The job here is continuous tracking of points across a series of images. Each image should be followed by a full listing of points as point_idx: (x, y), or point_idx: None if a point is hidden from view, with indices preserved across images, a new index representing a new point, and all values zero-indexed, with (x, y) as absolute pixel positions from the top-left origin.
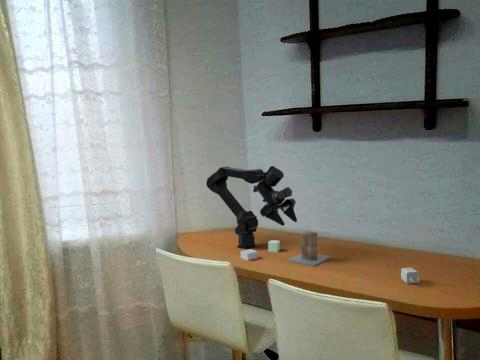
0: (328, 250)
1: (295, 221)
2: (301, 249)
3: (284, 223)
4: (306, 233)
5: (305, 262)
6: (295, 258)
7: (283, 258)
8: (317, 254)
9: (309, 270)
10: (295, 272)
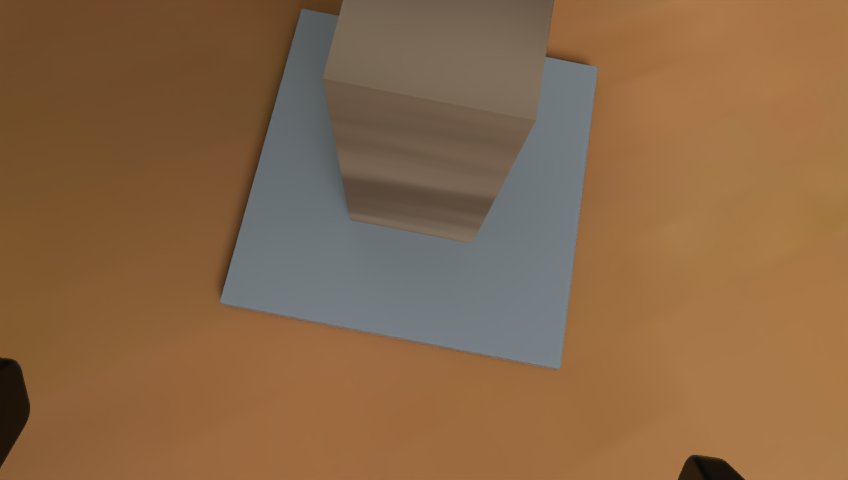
0: (30, 114)
1: (17, 408)
2: (489, 208)
3: (706, 465)
4: (478, 36)
5: (574, 157)
6: (499, 301)
7: (500, 457)
8: (269, 143)
9: (709, 73)
10: (819, 158)
